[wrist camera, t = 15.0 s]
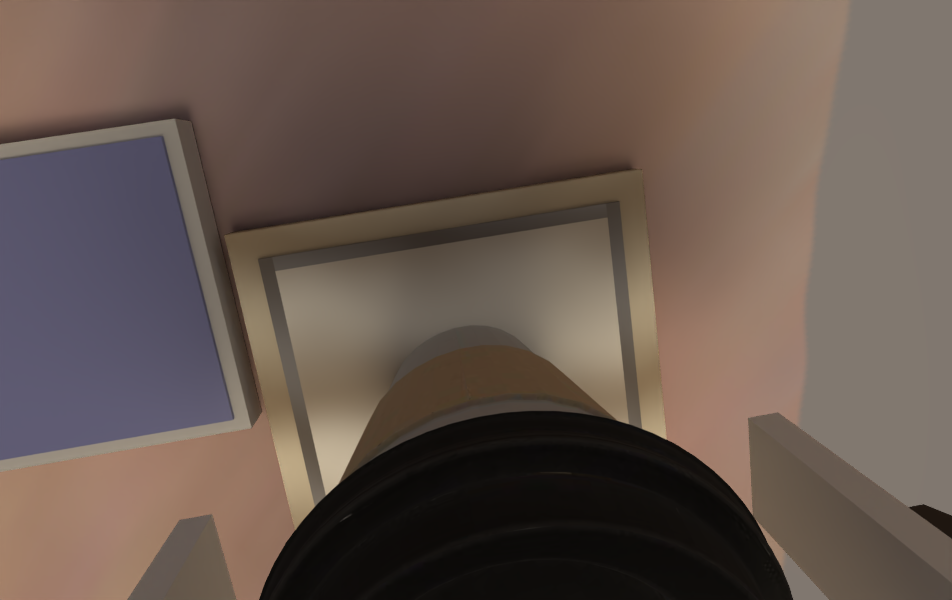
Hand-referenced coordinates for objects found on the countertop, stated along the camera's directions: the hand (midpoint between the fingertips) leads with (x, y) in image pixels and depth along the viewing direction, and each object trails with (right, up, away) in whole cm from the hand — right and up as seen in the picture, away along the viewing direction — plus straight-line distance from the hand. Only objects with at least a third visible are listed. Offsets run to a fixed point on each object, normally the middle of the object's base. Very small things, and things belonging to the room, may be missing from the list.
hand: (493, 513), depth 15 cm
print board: (-1, +2, +10) cm, 10 cm away
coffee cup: (-1, +2, +9) cm, 9 cm away
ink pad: (-15, +5, +8) cm, 18 cm away
